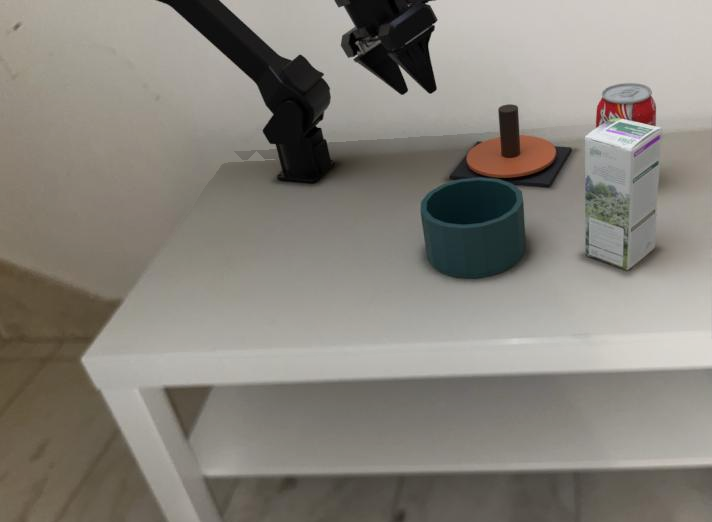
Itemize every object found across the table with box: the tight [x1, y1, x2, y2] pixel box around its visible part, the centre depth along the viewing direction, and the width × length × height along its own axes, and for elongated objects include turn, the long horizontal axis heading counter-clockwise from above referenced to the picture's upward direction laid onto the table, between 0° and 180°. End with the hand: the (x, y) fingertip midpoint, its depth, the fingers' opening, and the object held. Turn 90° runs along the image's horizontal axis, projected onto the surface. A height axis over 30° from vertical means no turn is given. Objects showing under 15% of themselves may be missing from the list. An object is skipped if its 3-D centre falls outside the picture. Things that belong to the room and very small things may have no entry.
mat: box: [449, 141, 572, 188], centre depth 106 cm, size 14×11×1 cm
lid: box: [466, 103, 556, 178], centre depth 103 cm, size 12×12×8 cm
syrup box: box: [584, 117, 663, 271], centre depth 81 cm, size 6×6×14 cm
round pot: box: [419, 177, 527, 279], centre depth 87 cm, size 11×11×6 cm
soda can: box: [595, 82, 657, 128], centre depth 94 cm, size 7×7×12 cm
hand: (418, 92), depth 99 cm, fingers open, 9 cm apart
